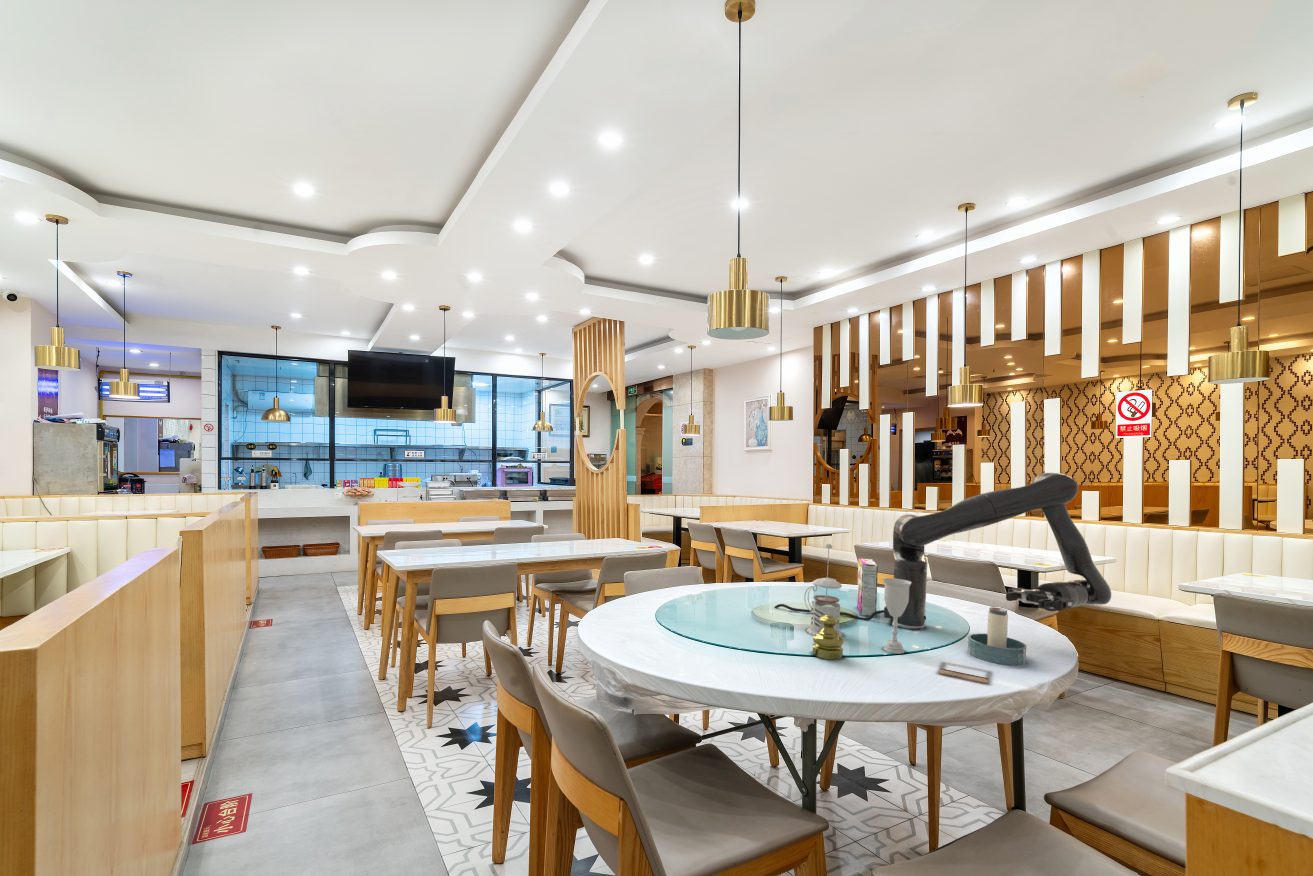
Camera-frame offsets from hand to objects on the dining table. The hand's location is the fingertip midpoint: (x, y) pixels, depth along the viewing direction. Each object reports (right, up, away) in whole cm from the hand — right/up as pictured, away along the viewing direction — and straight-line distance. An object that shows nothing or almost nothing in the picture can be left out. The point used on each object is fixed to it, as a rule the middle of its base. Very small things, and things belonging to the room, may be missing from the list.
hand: (1023, 600), depth 164 cm
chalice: (-36, -12, -3) cm, 38 cm away
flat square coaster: (-25, -12, -18) cm, 33 cm away
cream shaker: (-10, -13, -6) cm, 17 cm away
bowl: (-10, -13, -6) cm, 18 cm away
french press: (-51, -12, +10) cm, 53 cm away
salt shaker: (-55, -11, -10) cm, 57 cm away
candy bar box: (-30, -13, +36) cm, 49 cm away
